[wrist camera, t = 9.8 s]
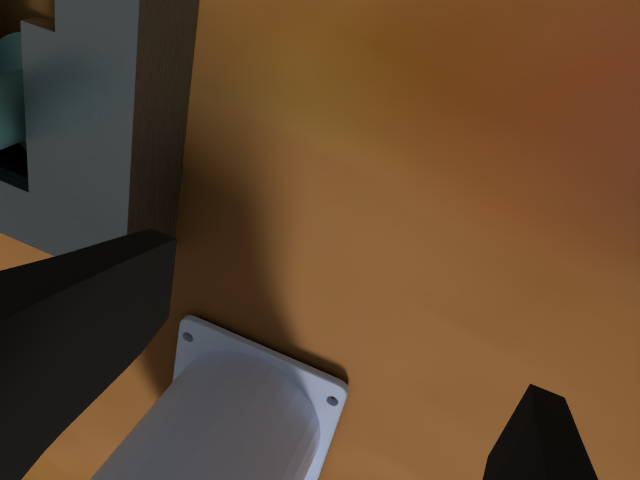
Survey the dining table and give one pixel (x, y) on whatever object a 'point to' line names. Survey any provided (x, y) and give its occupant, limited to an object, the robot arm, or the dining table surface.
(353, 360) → the dining table surface
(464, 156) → the dining table surface
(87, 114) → the keyhole plate
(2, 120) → the peg
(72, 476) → the dining table surface
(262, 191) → the dining table surface
